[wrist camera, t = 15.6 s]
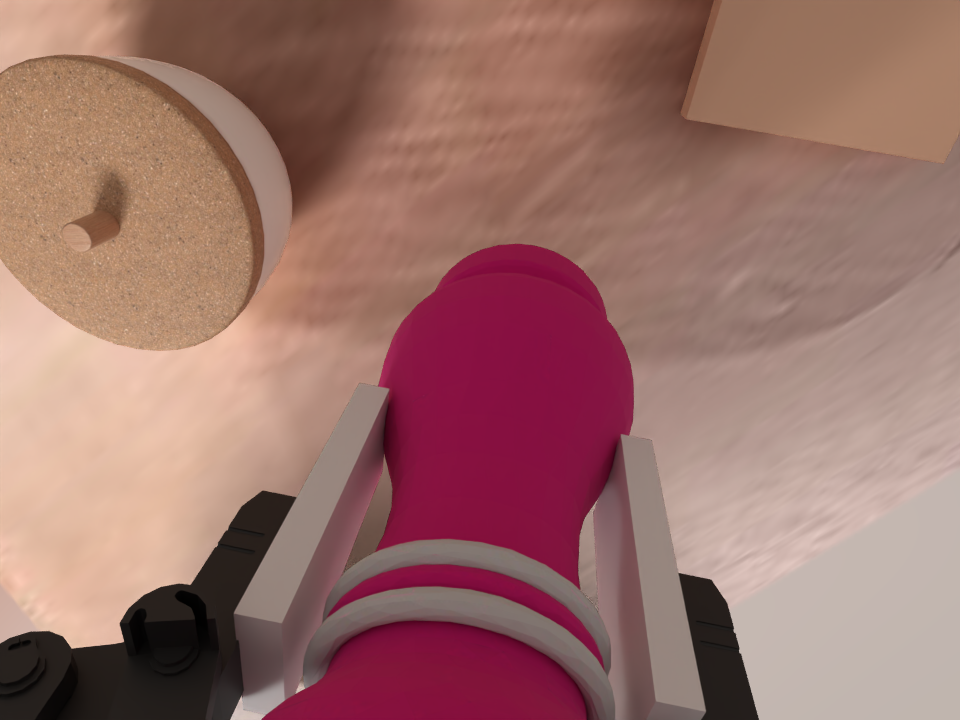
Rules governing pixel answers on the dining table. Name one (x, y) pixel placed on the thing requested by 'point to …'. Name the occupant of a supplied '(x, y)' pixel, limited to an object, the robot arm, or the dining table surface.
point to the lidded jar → (137, 197)
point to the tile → (834, 73)
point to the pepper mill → (483, 508)
